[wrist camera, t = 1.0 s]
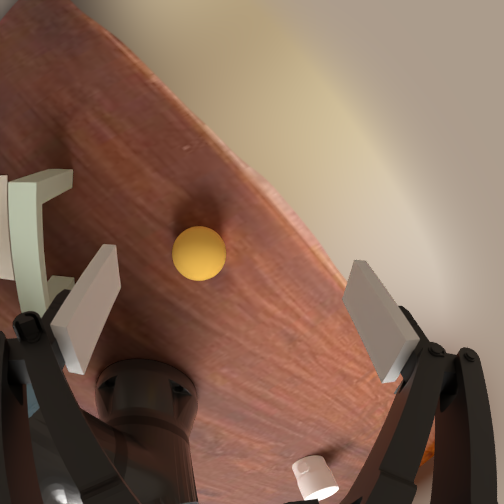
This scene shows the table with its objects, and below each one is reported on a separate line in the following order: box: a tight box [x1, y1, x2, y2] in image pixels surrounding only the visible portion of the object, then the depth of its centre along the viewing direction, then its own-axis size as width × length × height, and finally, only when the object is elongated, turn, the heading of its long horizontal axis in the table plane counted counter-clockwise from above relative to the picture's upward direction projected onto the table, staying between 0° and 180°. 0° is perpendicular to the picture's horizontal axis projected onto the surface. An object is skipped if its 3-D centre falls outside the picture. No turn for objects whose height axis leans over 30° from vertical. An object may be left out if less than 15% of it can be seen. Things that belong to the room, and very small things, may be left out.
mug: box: [292, 455, 339, 501], centre depth 54 cm, size 12×9×8 cm
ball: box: [172, 226, 226, 281], centre depth 31 cm, size 6×6×6 cm
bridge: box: [8, 169, 75, 318], centre depth 25 cm, size 3×14×9 cm, turn 171°
